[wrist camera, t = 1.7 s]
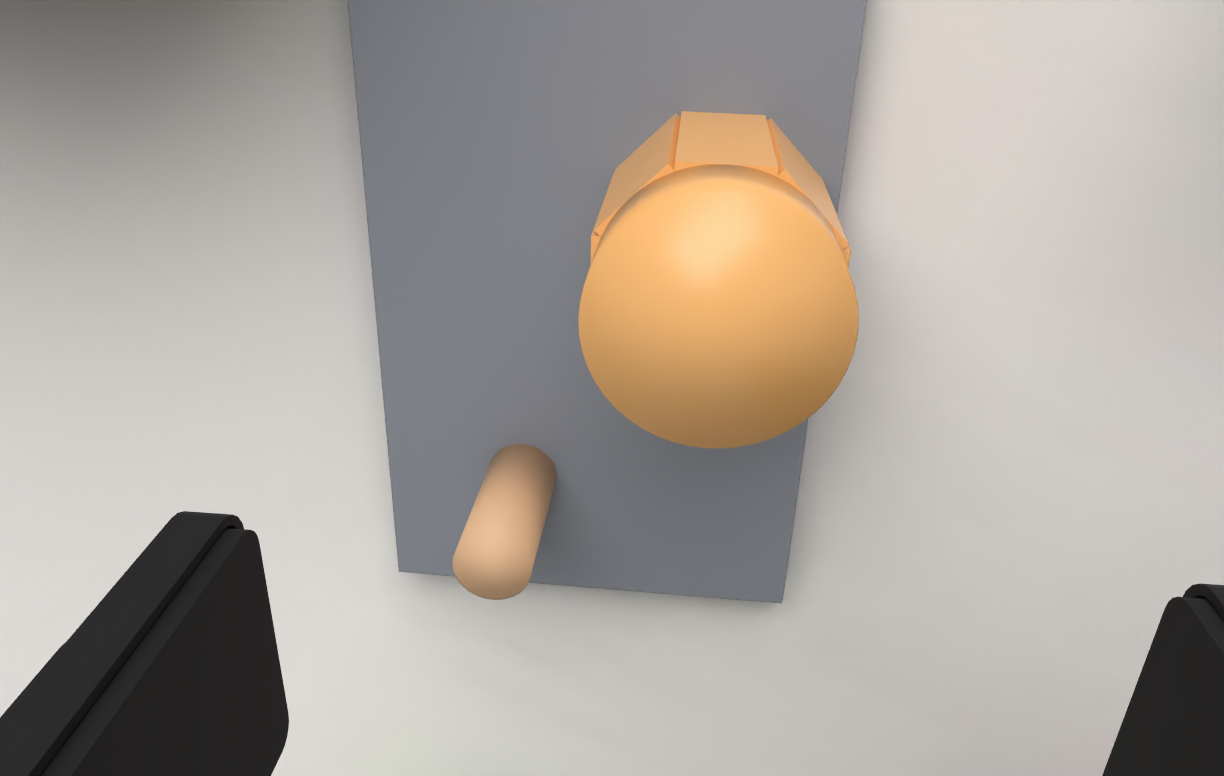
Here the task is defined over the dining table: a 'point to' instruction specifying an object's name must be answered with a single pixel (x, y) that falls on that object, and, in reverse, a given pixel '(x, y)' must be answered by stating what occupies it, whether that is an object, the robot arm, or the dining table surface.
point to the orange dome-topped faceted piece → (718, 285)
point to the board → (563, 279)
